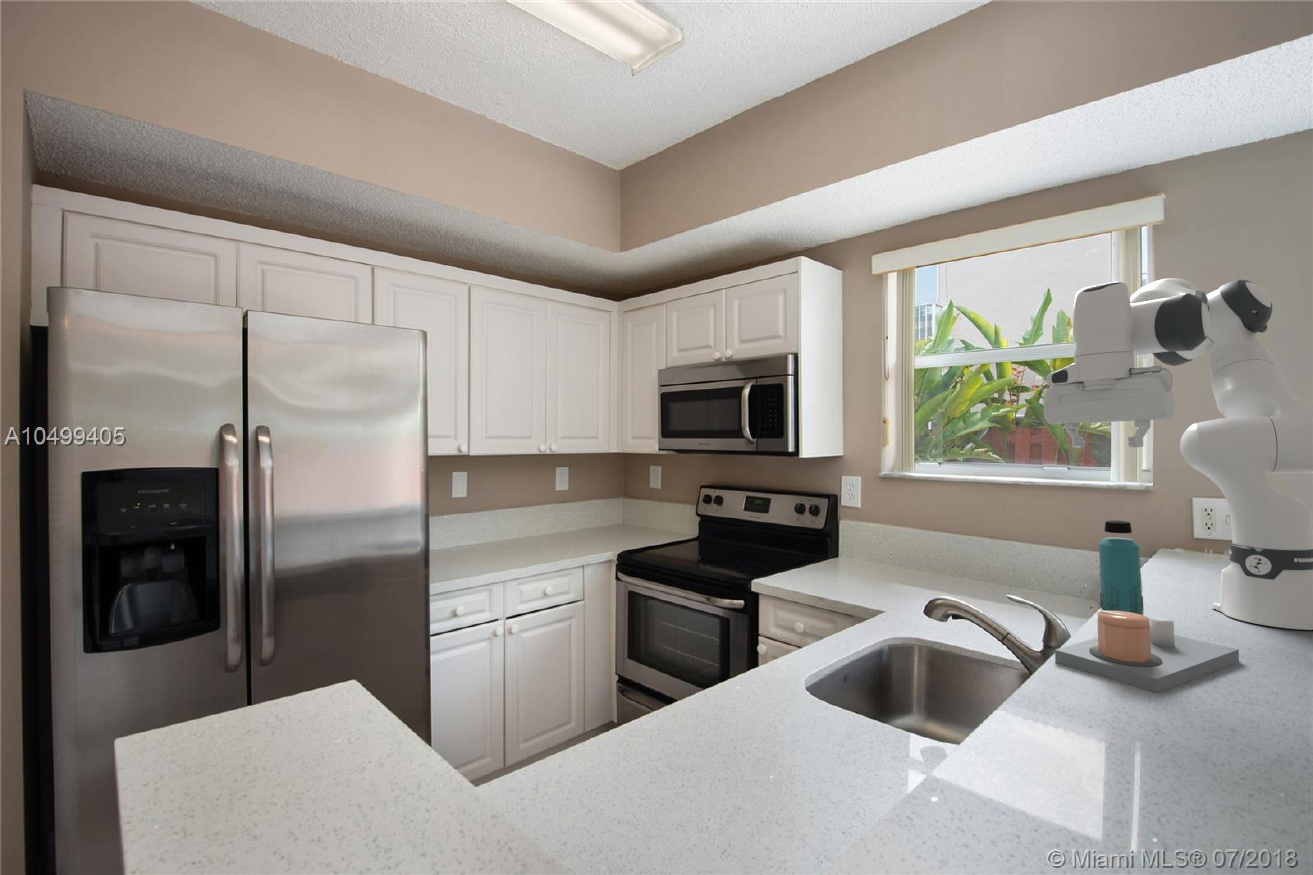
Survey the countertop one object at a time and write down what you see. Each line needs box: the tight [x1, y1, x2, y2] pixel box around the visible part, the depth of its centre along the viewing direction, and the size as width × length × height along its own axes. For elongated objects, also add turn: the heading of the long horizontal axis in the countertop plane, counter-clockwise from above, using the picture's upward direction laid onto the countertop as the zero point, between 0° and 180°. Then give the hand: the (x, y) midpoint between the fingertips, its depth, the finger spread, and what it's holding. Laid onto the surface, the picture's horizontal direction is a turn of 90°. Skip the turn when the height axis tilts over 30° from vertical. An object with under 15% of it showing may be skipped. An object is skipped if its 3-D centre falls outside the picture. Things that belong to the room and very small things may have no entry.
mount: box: [1054, 616, 1240, 694], centre depth 97 cm, size 24×14×6 cm, turn 116°
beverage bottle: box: [1098, 519, 1145, 616], centre depth 116 cm, size 6×7×20 cm
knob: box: [1097, 609, 1151, 662], centre depth 95 cm, size 6×6×6 cm
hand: (1106, 447), depth 111 cm, fingers open, 8 cm apart
